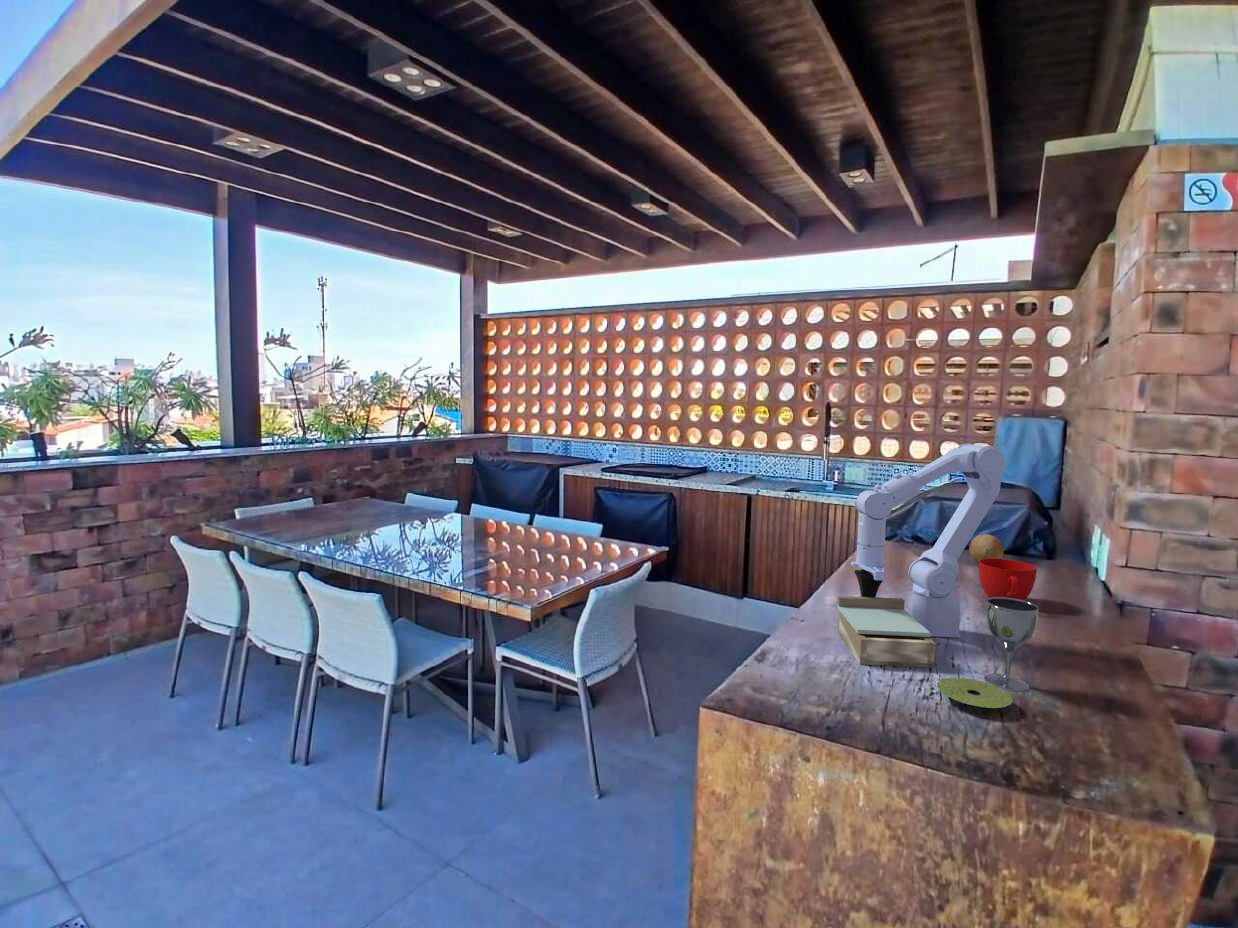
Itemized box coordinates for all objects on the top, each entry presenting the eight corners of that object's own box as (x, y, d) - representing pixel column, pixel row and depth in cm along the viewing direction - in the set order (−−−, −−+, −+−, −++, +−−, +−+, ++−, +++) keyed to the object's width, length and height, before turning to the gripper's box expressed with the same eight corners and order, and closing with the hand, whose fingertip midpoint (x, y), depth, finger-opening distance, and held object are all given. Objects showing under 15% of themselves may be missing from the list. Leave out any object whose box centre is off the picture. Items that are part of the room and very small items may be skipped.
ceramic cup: (983, 609, 156) (986, 571, 155) (972, 591, 171) (975, 556, 170) (1043, 616, 151) (1046, 577, 150) (1027, 597, 166) (1030, 561, 166)
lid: (901, 610, 138) (902, 598, 137) (930, 636, 122) (931, 623, 122) (837, 607, 139) (837, 595, 139) (857, 633, 123) (858, 619, 123)
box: (903, 637, 136) (905, 615, 135) (933, 667, 120) (935, 642, 119) (838, 634, 137) (839, 612, 137) (859, 663, 121) (861, 639, 121)
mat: (981, 723, 99) (982, 712, 98) (921, 693, 109) (922, 683, 109) (1027, 710, 103) (1027, 699, 103) (965, 683, 113) (966, 672, 113)
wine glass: (1016, 695, 109) (1022, 613, 107) (972, 677, 116) (977, 600, 114) (1041, 686, 112) (1047, 607, 111) (997, 670, 119) (1003, 594, 118)
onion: (975, 567, 198) (977, 536, 197) (963, 559, 208) (965, 530, 207) (1008, 568, 197) (1010, 538, 196) (994, 561, 206) (996, 532, 205)
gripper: (844, 536, 146) (841, 592, 147) (861, 550, 131) (858, 612, 133) (874, 537, 145) (871, 593, 146) (896, 552, 131) (892, 613, 132)
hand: (867, 602), depth 139 cm, fingers closed
